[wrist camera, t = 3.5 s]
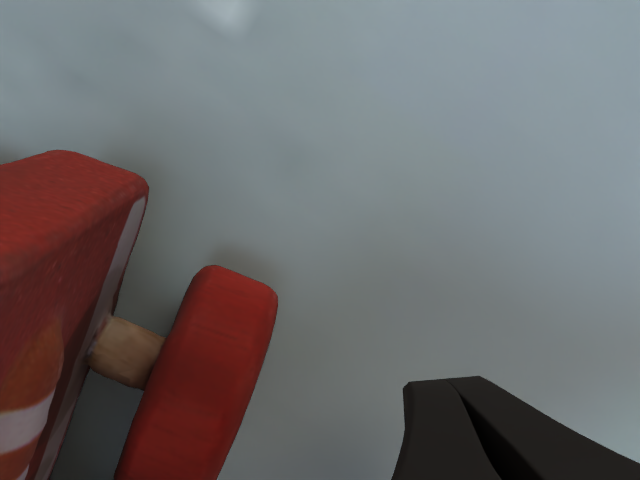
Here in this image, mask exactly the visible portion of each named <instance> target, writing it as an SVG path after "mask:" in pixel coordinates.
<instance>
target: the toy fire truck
mask: <svg viewBox="0 0 640 480" xmlns="http://www.w3.org/2000/svg"><path fill="white" fill-rule="evenodd" d="M148 193H149V186H148V185H147V183H146V181H145V179H143V178H142V177H141V176H139V175H137V174H136V173H133V172H130V171H127V170H124V169H121V168H118V167H116V166H113V165H110V164H107V163H104V162H102V161H99V160H97V159H94V158H91V157H89V156H86V155H83V154H80V153H77V152H72V151H66V150H52V151H47V152H45V153H42V154H38V155H34V156H31V157H28V158H25V159H22V160H18V161H14V162H11V163H6V164H2V165H0V480H49V477H50V475H51V472H52V470H53V467H54V464H55V462H56V459H57V457H58V454H59V451H60V448H61V446H62V443H63V440H64V438H65V435H66V432H67V429H68V426H69V424H70V421H71V418H72V415H73V412H74V409H75V405H76V402H77V400H78V397H79V394H80V392H81V389H82V387H83V384H84V381H85V378H86V376H87V374H88V372H89V370H90V367H91V369H92V370H93V371H94V372H96V373H98V374H100V375H102V376H104V377H106V378H109V379H112V380H115V381H117V382H119V383H121V384H124V385H126V386H128V387H133V388H138V389H141V390H143V391H144V393H143V395H142V398H141V401H140V403H139V406H138V409H137V411H136V413H135V416H134V418H133V421H132V424H131V427H130V430H129V433H128V436H127V439H126V442H125V444H124V447H123V450H122V453H121V456H120V459H119V461H118V464H117V467H116V470H115V473H114V480H217V477H218V475H219V473H220V471H221V469H222V467H223V464H224V462H225V460H226V457H227V455H228V453H229V450H230V448H231V446H232V444H233V442H234V439H235V437H236V435H237V432H238V430H239V428H240V425H241V423H242V420H243V417H244V414H245V412H246V409H247V406H248V404H249V401H250V399H251V396H252V393H253V390H254V388H255V385H256V382H257V379H258V376H259V373H260V371H261V368H262V365H263V361H264V358H265V355H266V352H267V349H268V346H269V343H270V340H271V336H272V332H273V328H274V324H275V319H276V314H277V308H278V296H277V295H276V293H275V292H274V291H273V290H272V289H271V288H270V287H268V286H267V285H265V284H263V283H261V282H258V281H256V280H253V279H251V278H248V277H246V276H243V275H241V274H239V273H236V272H234V271H231V270H229V269H226V268H223V267H221V266H217V265H211V266H206V267H204V268H202V269H201V270H200V271H199V272H198V273H197V274H196V275H195V276H194V277H193V279H192V281H191V283H190V285H189V287H188V289H187V291H186V293H185V296H184V298H183V301H182V303H181V305H180V308H179V310H178V313H177V316H176V318H175V321H174V323H173V326H172V329H171V331H170V334H169V335H168V337H162V336H159V335H157V334H156V333H154V332H152V331H149V330H147V329H145V328H142V327H140V326H138V325H136V324H133V323H131V322H129V321H127V320H124V319H122V318H120V317H115V316H113V314H114V311H115V307H116V304H117V300H118V296H119V290H120V287H121V284H122V281H123V276H124V273H125V270H126V267H127V263H128V260H129V257H130V255H131V252H132V249H133V247H134V244H135V241H136V239H137V236H138V233H139V230H140V226H141V223H142V220H143V216H144V213H145V209H146V205H147V201H148Z"/></svg>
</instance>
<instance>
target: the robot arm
mask: <svg viewBox="0 0 640 480" xmlns="http://www.w3.org/2000/svg"><path fill="white" fill-rule="evenodd" d="M403 402H404V420H405V431H404V437H403V442H402V446H401V450H400V453H399V457H398V460H397V464H396V467H395V470H394V473H393V476H392V479H391V480H640V463H637V462H635V461H633V460H631V459H629V458H627V457H624V456H622V455H620V454H618V453H616V452H614V451H612V450H610V449H608V448H606V447H604V446H602V445H600V444H598V443H596V442H594V441H592V440H590V439H588V438H586V437H584V436H583V435H581V434H579V433H577V432H575V431H573V430H572V429H570V428H568V427H566V426H564V425H562V424H561V423H559V422H557V421H555V420H554V419H552V418H550V417H549V416H547V415H545V414H543V413H542V412H540V411H538V410H537V409H535V408H533V407H532V406H530V405H528V404H527V403H525V402H523V401H522V400H520V399H519V398H517V397H515V396H514V395H512V394H510V393H509V392H507V391H505V390H504V389H502V388H500V387H499V386H497V385H495V384H494V383H492V382H490V381H488V380H487V379H485V378H483V377H480V376H472V377H461V378H449V379H437V380H425V381H413V382H408V384H407V385H406V386H405V387H404V388H403Z"/></svg>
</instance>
